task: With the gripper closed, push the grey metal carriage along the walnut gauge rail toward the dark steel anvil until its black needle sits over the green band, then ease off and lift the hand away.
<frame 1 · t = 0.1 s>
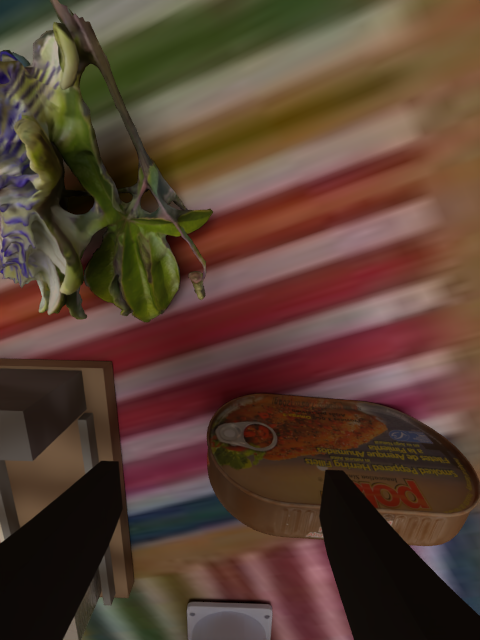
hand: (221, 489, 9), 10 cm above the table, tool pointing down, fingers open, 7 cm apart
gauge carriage: (35, 587, 20), point 3 cm above the table, slide at 0.0 cm
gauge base: (64, 482, 21), on the table
tin: (311, 413, 20), on the table
passion flower: (130, 217, 17), on the table
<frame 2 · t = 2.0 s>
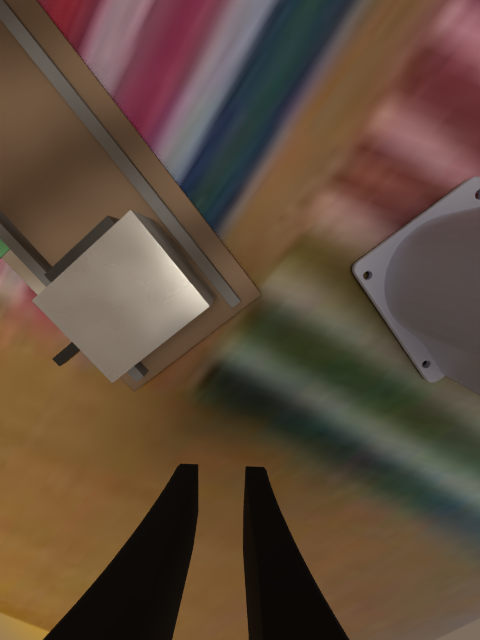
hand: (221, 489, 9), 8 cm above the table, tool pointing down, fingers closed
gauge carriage: (115, 306, 13), point 3 cm above the table, slide at 0.0 cm
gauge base: (73, 193, 14), on the table
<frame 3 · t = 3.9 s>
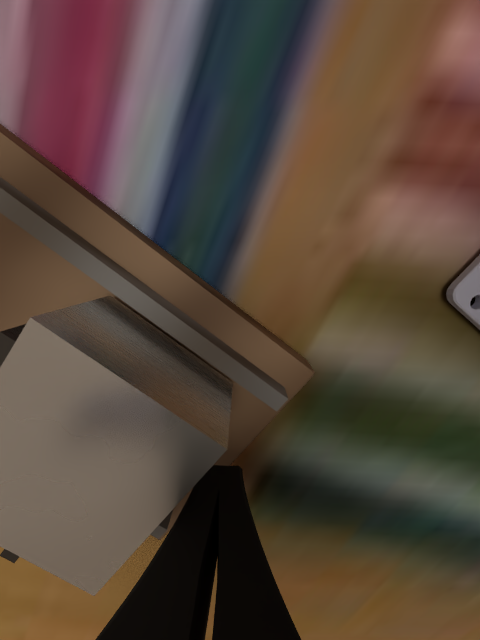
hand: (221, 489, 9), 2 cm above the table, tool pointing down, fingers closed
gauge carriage: (76, 451, 8), point 3 cm above the table, slide at 0.7 cm, touching gripper
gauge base: (4, 289, 10), on the table
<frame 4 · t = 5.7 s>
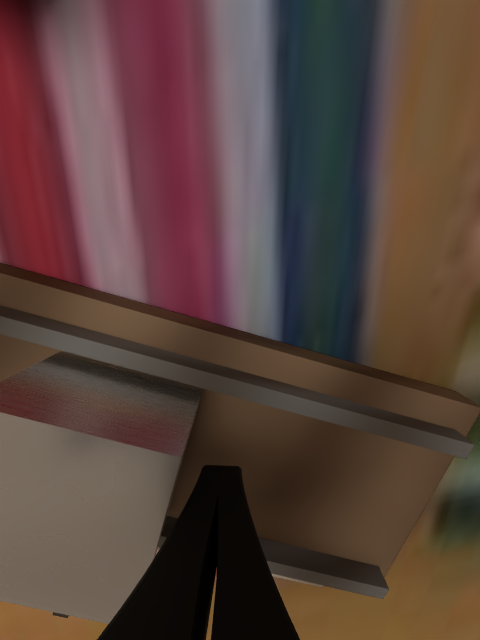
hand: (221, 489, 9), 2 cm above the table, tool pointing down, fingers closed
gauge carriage: (79, 501, 8), point 3 cm above the table, slide at 8.5 cm, touching gripper
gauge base: (170, 426, 11), on the table
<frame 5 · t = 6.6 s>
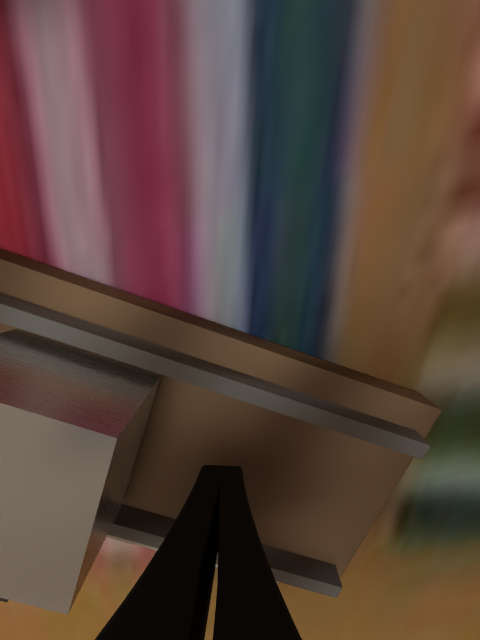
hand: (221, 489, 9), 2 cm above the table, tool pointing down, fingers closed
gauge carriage: (25, 483, 8), point 3 cm above the table, slide at 8.6 cm
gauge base: (132, 413, 11), on the table
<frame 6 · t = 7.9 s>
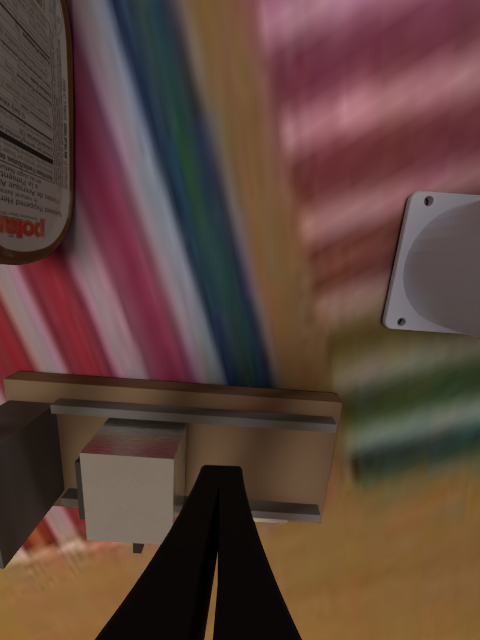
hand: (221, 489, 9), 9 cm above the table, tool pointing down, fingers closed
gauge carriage: (135, 491, 16), point 3 cm above the table, slide at 8.6 cm
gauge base: (177, 444, 19), on the table
tin: (60, 129, 14), on the table
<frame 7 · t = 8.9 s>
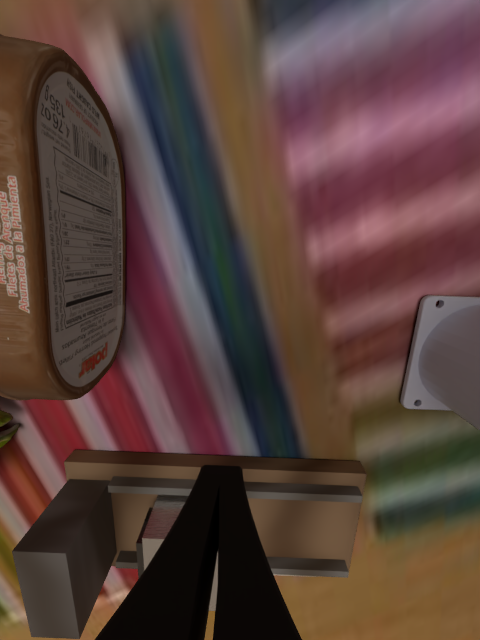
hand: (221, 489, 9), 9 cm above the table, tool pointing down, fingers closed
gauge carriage: (184, 560, 18), point 3 cm above the table, slide at 8.6 cm
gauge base: (215, 507, 21), on the table
tin: (112, 251, 16), on the table
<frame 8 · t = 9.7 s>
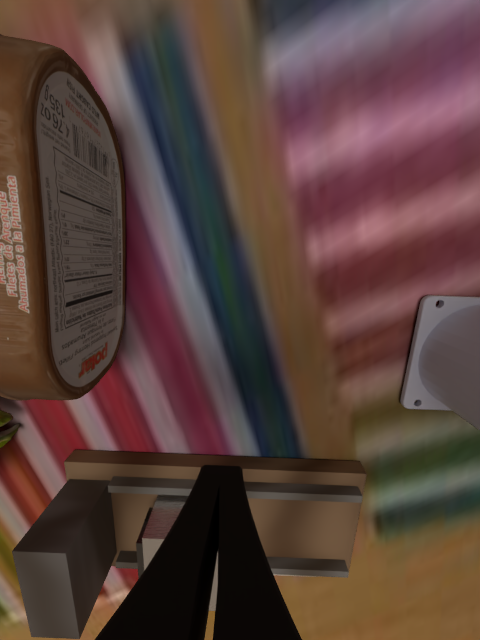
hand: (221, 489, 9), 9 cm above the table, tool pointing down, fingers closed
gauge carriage: (184, 560, 18), point 3 cm above the table, slide at 8.6 cm
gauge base: (215, 507, 21), on the table
tin: (112, 251, 16), on the table
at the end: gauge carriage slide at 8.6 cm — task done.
